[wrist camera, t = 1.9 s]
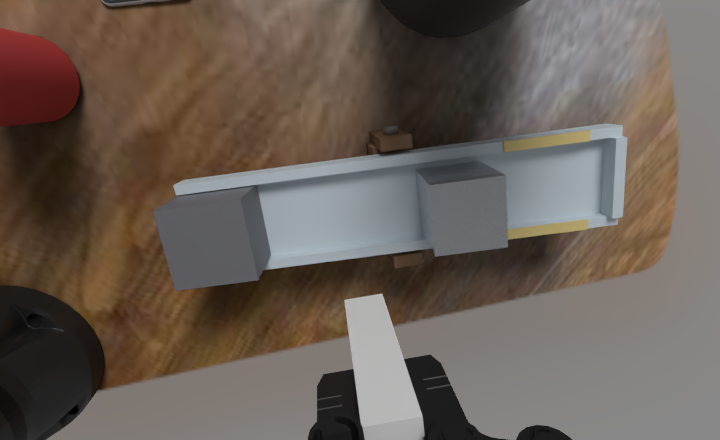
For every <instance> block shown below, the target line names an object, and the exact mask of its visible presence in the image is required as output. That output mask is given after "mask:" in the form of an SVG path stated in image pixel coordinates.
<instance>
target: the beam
mask: <svg viewBox="0 0 720 440" xmlns="http://www.w3.org/2000/svg"><path fill="white" fill-rule="evenodd" d="M622 131H623V125H615V124H600V125H592V126H585V127H577V128H570V129H562V130H555V131H547V132H540V133H532V134H525V135H517V136H510V137H502V138H495V139H487V140H480V141H472V142H465V143H457V144H450V145H442V146H435V147H427V148H420V149H412V150H405V151H397V152H390V153H382V154H375V155H367V156H360V157H352V158H345V159H337V160H330V161H322V162H315V163H307V164H300V165H292V166H285V167H277V168H270V169H262V170H255V171H247V172H240V173H232V174H225V175H217V176H210V177H202V178H195V179H187V180H183V181H181V182H179V183H177V184H175V185H173V186H174V190H175V194H176V195H178V196H177V197H175V198H174V199H172V200H170V201H169V202H167V203H165V204H164V205H162V206H160V207H159V208H157V209H155V210H154V211H153V214H154V217H155V221H156V224H157V228H158V231H159V235H160V238H161V242H162V245H163V249H164V252H165V256H166V259H167V263H168V266H169V269H170V273H171V276H172V280H173V283H174V287H175V290H176V291H179V290H187V289H195V288H202V287H210V286H218V285H226V284H234V283H241V282H249V281H257V280H259V278H260V276H261V274H262V272H263V270H268V269H276V268H284V267H291V266H299V265H307V264H315V263H322V262H330V261H338V260H346V259H354V258H361V257H369V256H377V255H385V254H392V253H400V252H408V251H416V250H423V249H431V248H430V246H429V244H428V242H427V240H426V238H425V236H424V234H423V232H422V230H421V225H420V214H419V203H418V192H417V181H416V171H415V169H420V168H427V167H435V166H442V165H450V164H457V163H465V162H472V161H481V162H482V163H484V164H486V165H488V166H490V167H492V168H494V169H495V170H497V171H499V172H501V173H503V174H505V175H506V188H507V224H508V240H509V239H516V238H524V237H532V236H540V235H547V234H555V233H563V232H571V231H578V230H586V229H587V228H594V227H602V226H610V225H617V224H618V218H620V217H623V202H624V185H625V167H626V150H627V137H623V136H622Z"/></svg>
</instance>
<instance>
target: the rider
mask: <svg viewBox="0 0 720 440" xmlns="http://www.w3.org/2000/svg"><path fill="white" fill-rule="evenodd" d="M415 171H416V181H417V192H418V203H419V214H420V225H421V230H422V232H423V234H424V236H425V238H426V240H427V242H428V244H429V246H430V248H431V250H432V252H433V254H434V256H435V257H437V256H445V255H452V254H460V253H468V252H476V251H484V250H491V249H499V248H507V247H508V224H507V188H506V175H505V174H503V173H501V172H499V171H497V170H495V169H494V168H492V167H490V166H488V165H486V164H484V163H482V162H481V161H472V162H465V163H457V164H450V165H442V166H435V167H427V168H420V169H415Z"/></svg>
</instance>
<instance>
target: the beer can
mask: <svg viewBox="0 0 720 440" xmlns="http://www.w3.org/2000/svg"><path fill="white" fill-rule="evenodd" d="M79 84H80V82H79V78H78V75H77V71H76V68H75V67H74V65H73V64H72V62H71V60H70V59H69V57H68V56H67V55H66V54H65V53H64V52H63V51H62V50H61V49H60V48H59V47H58V46H57V45H56V44H54V43H52V42H50V41H48V40H46V39H44V38H42V37H38V36H34V35H29V34H24V33H20V32H15V31H10V30H6V29H1V28H0V127H1V126H12V125H22V124H32V123H42V122H51V121H56V120H58V119H60V118H62V117H64V116H66V115H67V114H68V113H69V112H70V111H71V110H72V109H73V108H74V106H75V104H76V101H77V99H78V96H79Z"/></svg>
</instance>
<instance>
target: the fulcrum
mask: <svg viewBox="0 0 720 440" xmlns="http://www.w3.org/2000/svg"><path fill="white" fill-rule="evenodd" d="M369 133H370V141H371V143H367V144H366V145H367V153H368V155H375V154H382V153H390V152H397V151H405V150H412V148H413V144H412V134H410V133H407V132H405V131H402V130H400V129H398V125H391V126H385V127H383V130H378V131H371V132H369ZM388 255H389V257H390V259H391V261H392V263H393V266H394V268H395V269H396V268H402V267H408V266H415V265H421V264H424V263H423V253H422V251H421V250H416V251H408V252H400V253H392V254H388Z"/></svg>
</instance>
